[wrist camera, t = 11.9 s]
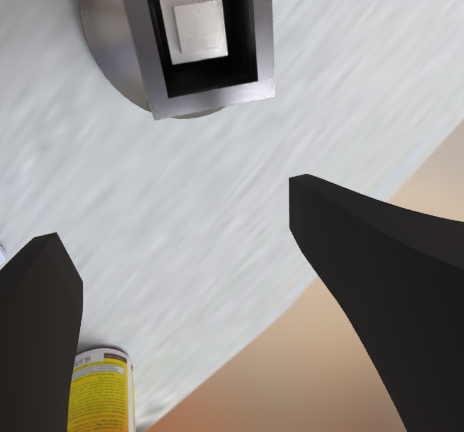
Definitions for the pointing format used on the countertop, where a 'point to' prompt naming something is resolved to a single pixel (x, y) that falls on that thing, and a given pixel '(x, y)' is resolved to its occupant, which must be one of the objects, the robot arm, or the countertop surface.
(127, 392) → the supplement bottle
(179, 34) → the ratchet
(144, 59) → the square metal tube
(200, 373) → the countertop surface
